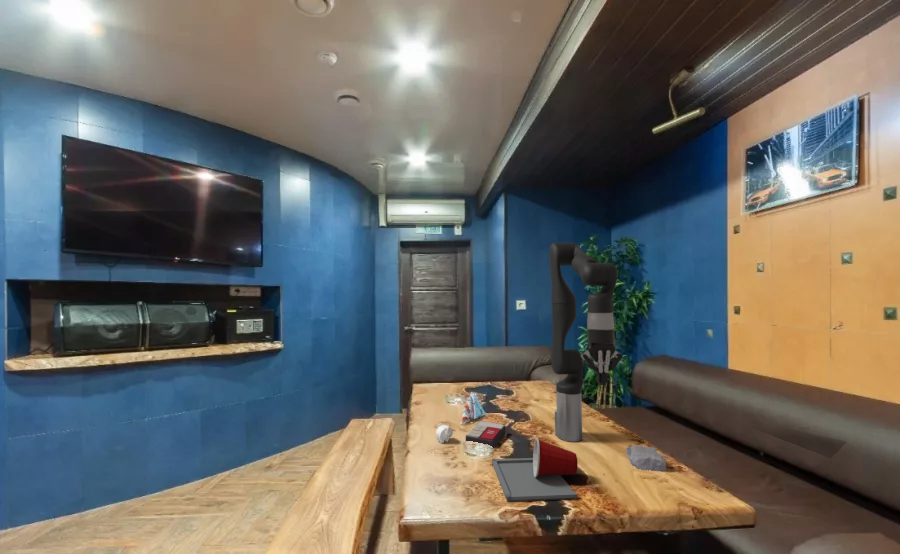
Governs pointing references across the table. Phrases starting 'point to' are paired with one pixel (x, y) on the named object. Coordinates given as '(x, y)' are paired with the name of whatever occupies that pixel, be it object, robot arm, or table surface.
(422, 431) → the table surface
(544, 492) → the grey tray
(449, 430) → the elephant figurine
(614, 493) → the table surface
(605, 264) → the robot arm
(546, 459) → the plastic cup
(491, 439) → the grey and red box
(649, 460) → the stone block
